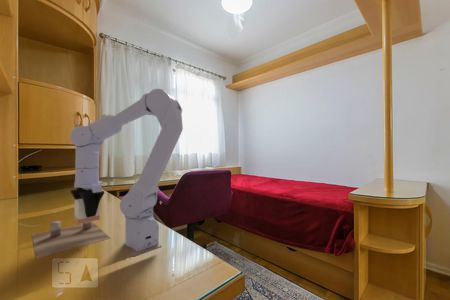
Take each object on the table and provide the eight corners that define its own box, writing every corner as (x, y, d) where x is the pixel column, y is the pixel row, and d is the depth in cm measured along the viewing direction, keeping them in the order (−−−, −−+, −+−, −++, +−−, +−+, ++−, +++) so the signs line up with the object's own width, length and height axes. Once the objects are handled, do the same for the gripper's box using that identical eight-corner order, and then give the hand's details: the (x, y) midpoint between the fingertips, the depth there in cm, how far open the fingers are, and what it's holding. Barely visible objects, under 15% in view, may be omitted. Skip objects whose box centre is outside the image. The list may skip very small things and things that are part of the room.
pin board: (110, 242, 59) (111, 224, 59) (35, 263, 47) (36, 241, 47) (92, 225, 72) (93, 211, 73) (31, 238, 61) (31, 221, 61)
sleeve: (99, 219, 59) (99, 199, 59) (78, 224, 55) (78, 202, 55) (94, 216, 62) (94, 196, 62) (74, 220, 58) (74, 199, 59)
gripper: (113, 168, 58) (112, 215, 58) (92, 166, 66) (92, 207, 66) (85, 169, 52) (84, 222, 52) (66, 167, 61) (65, 212, 60)
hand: (86, 214), depth 59 cm, fingers closed on sleeve, 5 cm apart
